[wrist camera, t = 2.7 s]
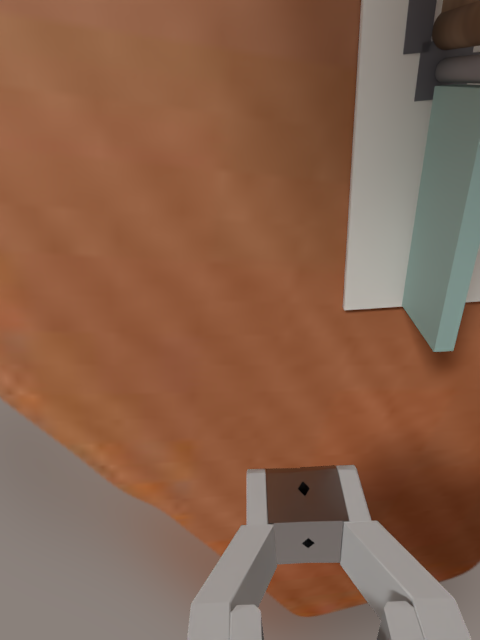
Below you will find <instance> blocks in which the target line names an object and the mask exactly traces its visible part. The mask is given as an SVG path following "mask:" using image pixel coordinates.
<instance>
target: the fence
mask: <svg viewBox="0 0 480 640" xmlns="http://www.w3.org/2000/svg"><path fill="white" fill-rule="evenodd" d="M432 40H433V41H434V44H435V45H436V46H437V47H438V48H439V49H442V50H451V49H458V48H466V47H473V46H480V0H443V4H442V11H441V14H440V15H439V16H438V17H437V19H436V20H435V22H434V25H433V31H432Z"/></svg>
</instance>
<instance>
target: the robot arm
mask: <svg viewBox="0 0 480 640" xmlns="http://www.w3.org/2000/svg"><path fill="white" fill-rule="evenodd" d="M291 563H340V565H341V566H342V567H343V569H344V570H345V572H346V573H347V574H348V576H349V577H350V578H351V580H352V581H353V583H354V584H355V585H356V587H357V588H358V590H359V591H360V592H361V594H362V595H363V596H364V598H365V599H366V601H367V602H368V603H369V605H370V606H371V607H372V609H373V610H374V612H375V613H376V614H377V616H378V617H379V619H380V620H381V623H380V628H379V632H378V637H377V640H471V637H470V635H469V632H468V630H467V627H466V625H465V622H464V620H463V617H462V615H461V612H460V610H459V607H458V605H457V602H456V600H455V598H454V597H453V596H452V595H451V594H450V593H449V592H448V591H447V590H446V589H445V588H444V587H443V586H442V585H441V584H440V583H439V582H438V581H437V580H436V579H435V578H434V577H433V576H432V575H431V574H430V573H429V572H428V571H427V570H426V569H425V568H424V567H423V566H422V565H421V564H420V563H419V562H418V561H417V560H416V559H415V558H414V557H413V556H412V555H411V554H410V553H409V552H408V551H407V550H406V549H405V548H404V547H403V546H402V545H401V544H400V543H399V542H398V541H397V540H396V539H395V538H394V537H393V536H392V535H391V534H390V533H389V532H388V531H387V530H386V529H385V528H384V527H383V526H382V525H381V524H380V523H379V522H378V521H372V520H371V517H370V513H369V510H368V506H367V503H366V499H365V496H364V493H363V489H362V486H361V482H360V479H359V475H358V472H357V468H356V467H355V466H354V465H342V466H335V465H332V466H315V467H300V468H276V469H266V471H265V469H248V470H247V525H241V527H240V528H239V530H238V531H237V533H236V534H235V536H234V538H233V539H232V541H231V542H230V544H229V545H228V547H227V549H226V550H225V552H224V553H223V555H222V556H221V558H220V560H219V561H218V563H217V564H216V566H215V567H214V569H213V571H212V572H211V574H210V575H209V577H208V578H207V580H206V581H205V583H204V585H203V586H202V588H201V590H200V591H199V593H198V594H197V596H196V597H195V599H194V600H193V602H192V603H191V611H190V619H189V627H188V636H187V640H264V636H263V627H262V618H261V611H260V610H259V609H258V607H259V604H260V602H261V600H262V598H263V596H264V593H265V591H266V589H267V587H268V585H269V583H270V580H271V578H272V576H273V574H274V572H275V569H276V567H277V564H291Z"/></svg>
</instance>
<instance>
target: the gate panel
mask: <svg viewBox="0 0 480 640" xmlns="http://www.w3.org/2000/svg"><path fill="white" fill-rule="evenodd" d="M435 76H436V79H437V80H438V81H439V82H442V83H478V84H480V54H478V55H468V56H459V57H449V58H445V59H443V60H441V61H440V62H439V64H438V65H437V67H436V70H435ZM479 245H480V85H471V84H452V85H441V86H435V88H434V95H433V101H432V108H431V115H430V121H429V128H428V134H427V141H426V148H425V154H424V161H423V168H422V174H421V181H420V188H419V194H418V201H417V208H416V214H415V221H414V227H413V234H412V241H411V247H410V254H409V261H408V267H407V274H406V281H405V287H404V294H403V301H402V306H403V308H404V309H405V311H406V312H407V314H408V315H409V316H410V318H411V319H412V321H413V322H414V324H415V325H416V327H417V328H418V330H419V331H420V333H421V334H422V335H423V337H424V338H425V340H426V341H427V343H428V344H429V346H430V347H431V349H432V350H433V352H442V351H453V350H454V346H455V342H456V338H457V334H458V330H459V326H460V322H461V318H462V314H463V310H464V306H465V301H466V297H467V293H468V289H469V285H470V281H471V277H472V273H473V269H474V265H475V261H476V257H477V253H478V249H479Z"/></svg>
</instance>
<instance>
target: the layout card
mask: <svg viewBox="0 0 480 640" xmlns="http://www.w3.org/2000/svg"><path fill="white" fill-rule="evenodd" d="M442 4H443V0H361V14H360V30H359V47H358V64H357V80H356V97H355V113H354V130H353V147H352V163H351V180H350V196H349V213H348V229H347V246H346V263H345V279H344V296H343V309H344V310H357V309H372V308H387V307H403V306H402V301H403V294H404V287H405V281H406V274H407V267H408V261H409V254H410V247H411V241H412V234H413V227H414V221H415V214H416V208H417V201H418V194H419V188H420V181H421V174H422V168H423V161H424V154H425V148H426V141H427V134H428V128H429V121H430V115H431V108H432V101H433V95H434V88H435V86H441V85H452V84H471V85H480V84H478V83H442V82H439V81H438V80H437V79H436V76H435V70H436V67H437V65H438V64H439V62H440V61H441V60H443V59H445V58H449V57H459V56H468V55H478V54H480V46H473V47H466V48H458V49H451V50H442V49H439V48H438V47H437V46H436V45H435V44H434V41H433V40H432V31H433V25H434V22H435V20H436V19H437V17H438V16H439V15H440V14H441V11H442ZM479 301H480V245H479V249H478V253H477V257H476V261H475V265H474V269H473V273H472V277H471V281H470V285H469V289H468V293H467V297H466V301H465V302H479Z"/></svg>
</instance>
